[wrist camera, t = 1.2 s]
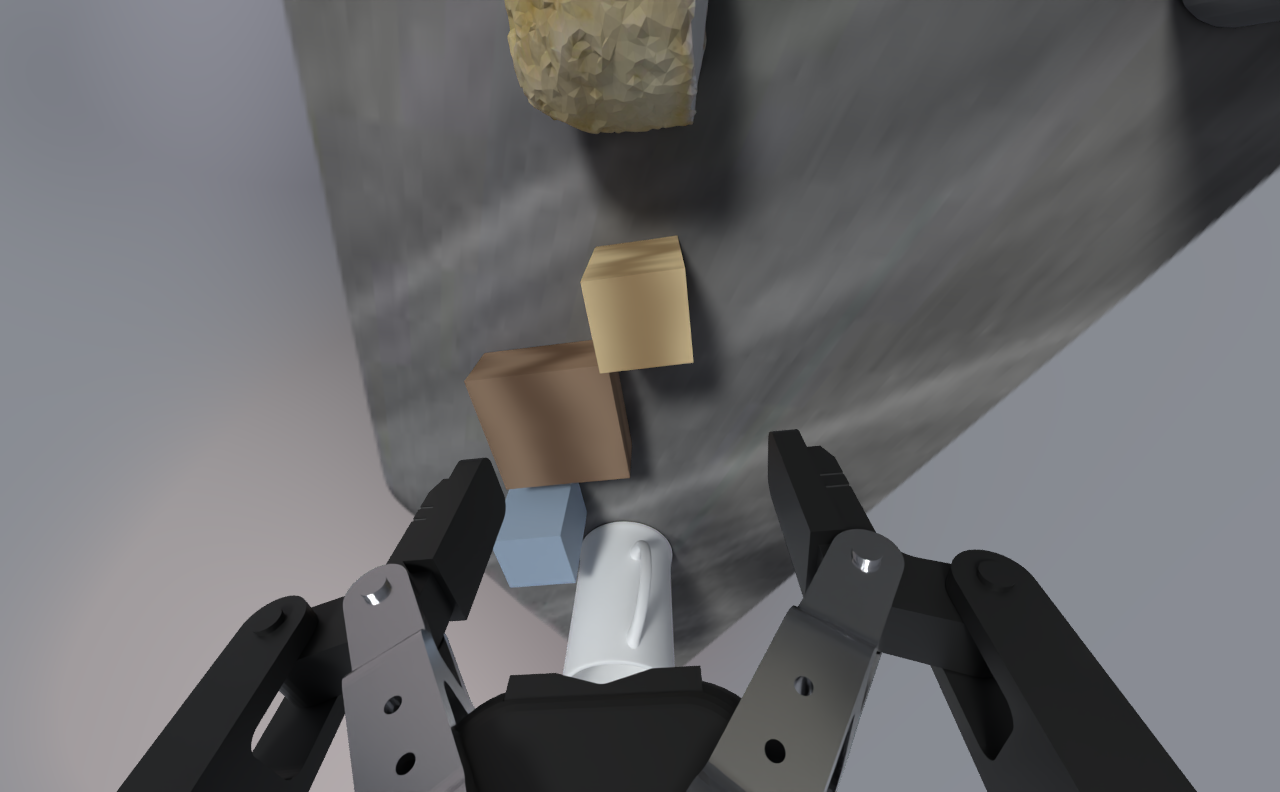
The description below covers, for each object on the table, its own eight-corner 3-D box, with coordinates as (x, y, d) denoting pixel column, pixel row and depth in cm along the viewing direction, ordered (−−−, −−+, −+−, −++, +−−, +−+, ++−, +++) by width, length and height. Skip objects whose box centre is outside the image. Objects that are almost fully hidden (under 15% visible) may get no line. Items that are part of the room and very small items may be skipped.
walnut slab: (612, 337, 31) (607, 364, 27) (631, 443, 35) (629, 477, 32) (484, 353, 31) (464, 381, 28) (520, 454, 36) (506, 489, 33)
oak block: (677, 235, 27) (685, 267, 21) (684, 313, 30) (693, 362, 24) (595, 247, 28) (580, 282, 22) (609, 323, 30) (599, 373, 24)
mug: (607, 483, 37) (591, 619, 27) (702, 510, 39) (720, 650, 29) (569, 569, 43) (544, 709, 33) (652, 590, 45) (653, 730, 34)
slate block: (574, 468, 37) (560, 535, 31) (587, 512, 39) (575, 582, 33) (515, 474, 37) (489, 541, 31) (531, 517, 40) (510, 587, 34)
